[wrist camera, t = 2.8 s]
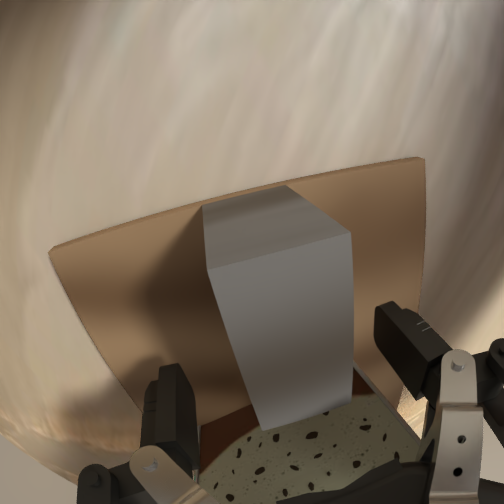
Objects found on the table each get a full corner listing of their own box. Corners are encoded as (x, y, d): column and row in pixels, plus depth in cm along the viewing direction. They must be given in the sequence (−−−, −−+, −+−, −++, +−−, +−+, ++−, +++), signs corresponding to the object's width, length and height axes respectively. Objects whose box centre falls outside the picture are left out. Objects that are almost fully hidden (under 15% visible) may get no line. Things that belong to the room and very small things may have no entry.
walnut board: (53, 246, 10) (-17, 326, 5) (416, 156, 12) (515, 186, 6) (195, 467, 18) (202, 528, 13) (391, 410, 20) (423, 461, 15)
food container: (232, 458, 18) (254, 575, 9) (177, 423, 16) (185, 572, 7) (385, 382, 18) (456, 494, 8) (363, 328, 15) (467, 475, 6)
